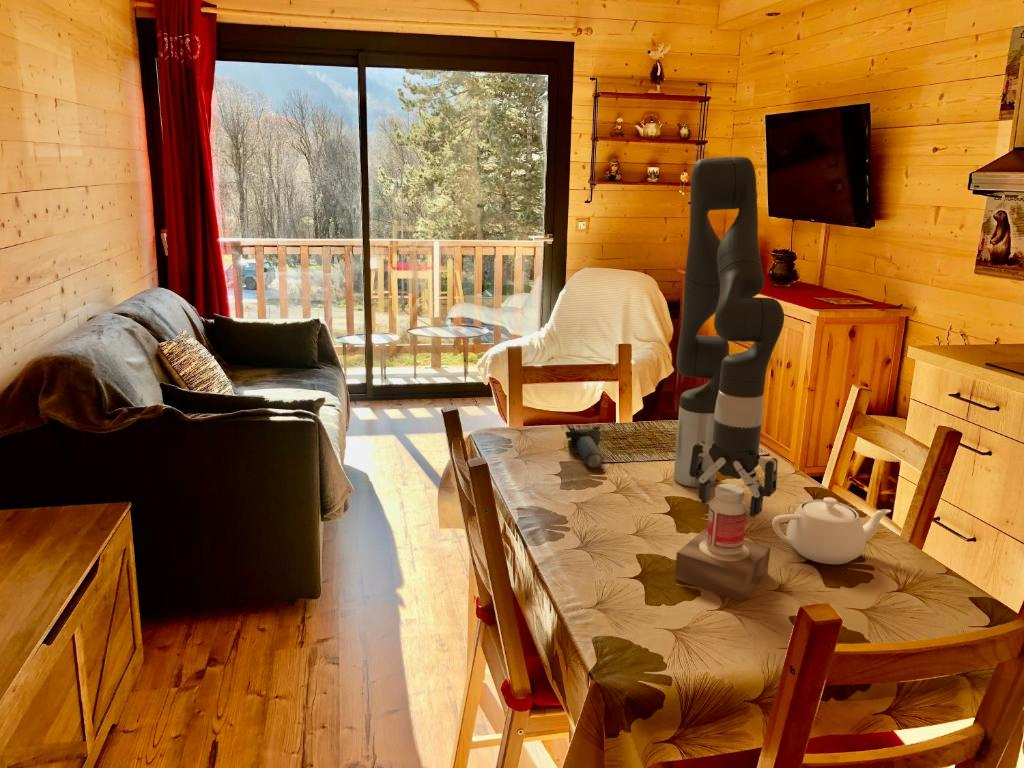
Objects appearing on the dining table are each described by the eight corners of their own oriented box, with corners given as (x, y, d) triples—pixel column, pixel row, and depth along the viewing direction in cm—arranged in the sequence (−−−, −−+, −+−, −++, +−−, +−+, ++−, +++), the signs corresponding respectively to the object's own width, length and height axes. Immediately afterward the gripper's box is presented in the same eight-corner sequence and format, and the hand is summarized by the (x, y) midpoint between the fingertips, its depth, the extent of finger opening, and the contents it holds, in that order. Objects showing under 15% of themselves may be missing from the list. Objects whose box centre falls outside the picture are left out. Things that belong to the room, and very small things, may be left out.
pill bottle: (750, 551, 138) (756, 491, 135) (725, 560, 134) (731, 499, 131) (722, 537, 143) (728, 479, 140) (697, 545, 139) (703, 486, 136)
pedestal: (703, 553, 148) (705, 527, 146) (767, 573, 141) (770, 546, 140) (674, 578, 139) (676, 551, 137) (742, 601, 132) (745, 573, 130)
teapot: (783, 571, 142) (790, 515, 139) (755, 536, 155) (761, 484, 152) (903, 570, 144) (913, 514, 141) (866, 535, 157) (874, 484, 154)
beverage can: (568, 457, 199) (582, 477, 188) (564, 428, 196) (578, 447, 185) (603, 448, 200) (619, 468, 189) (599, 420, 197) (615, 439, 186)
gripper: (789, 421, 131) (777, 512, 135) (706, 404, 139) (698, 491, 143) (773, 433, 125) (762, 528, 130) (688, 414, 133) (680, 505, 138)
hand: (728, 508), depth 137 cm, fingers open, 8 cm apart
